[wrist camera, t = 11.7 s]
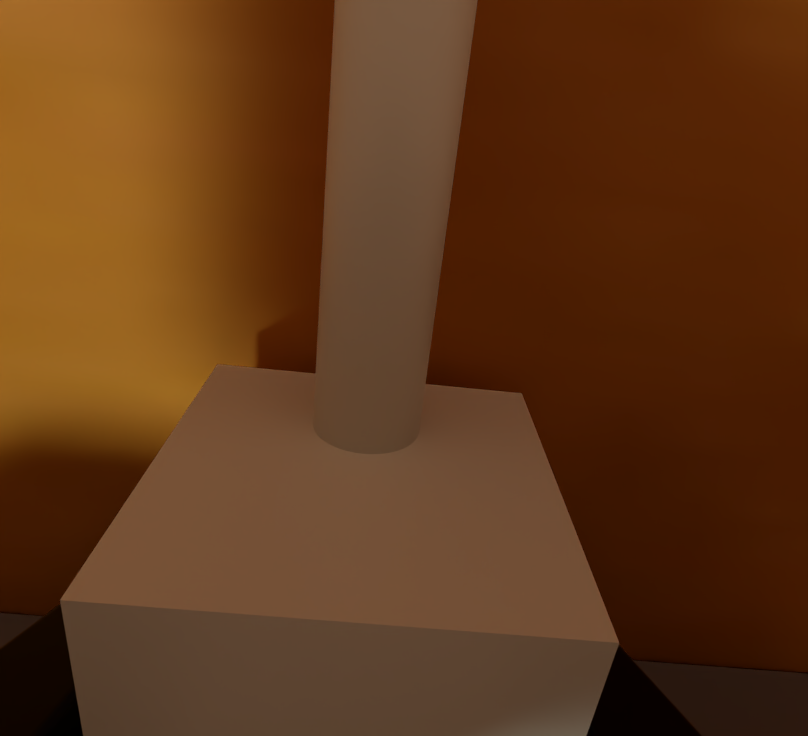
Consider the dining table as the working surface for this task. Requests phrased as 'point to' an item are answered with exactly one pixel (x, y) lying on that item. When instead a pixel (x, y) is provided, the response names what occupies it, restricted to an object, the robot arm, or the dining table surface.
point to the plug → (351, 484)
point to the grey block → (681, 693)
